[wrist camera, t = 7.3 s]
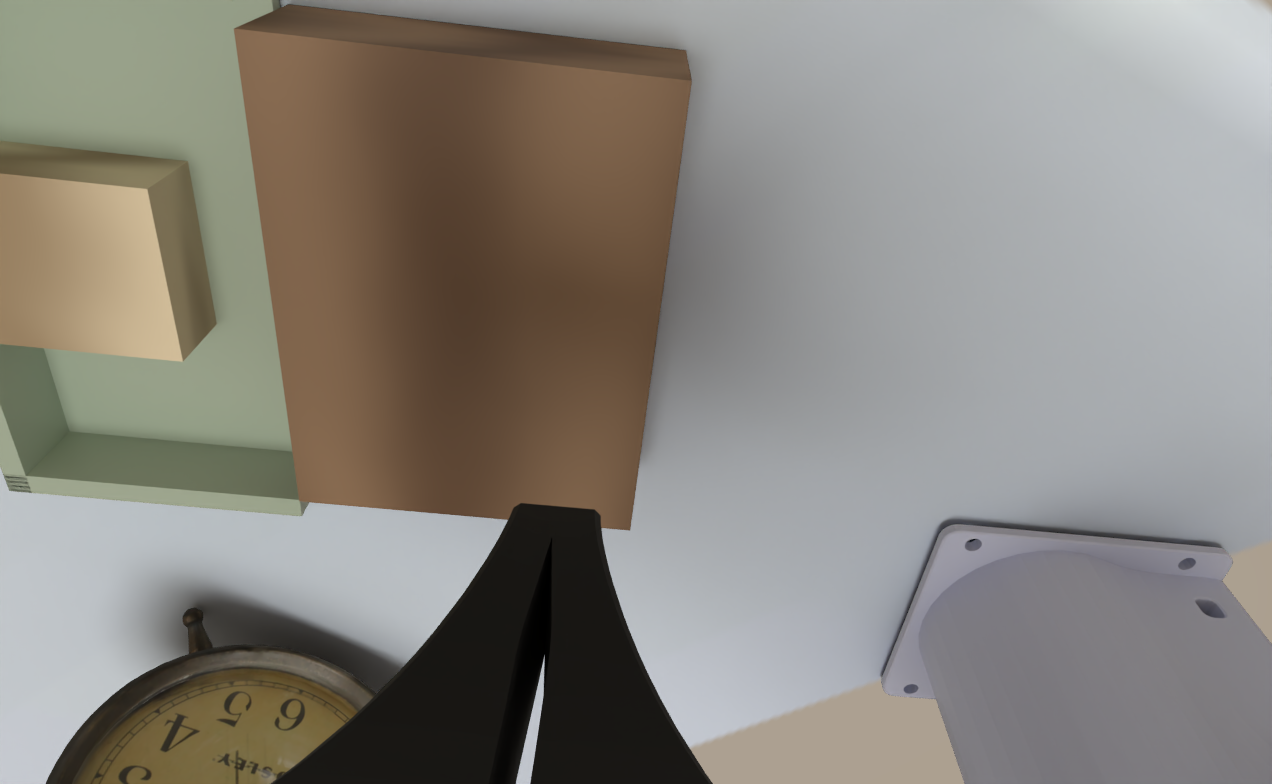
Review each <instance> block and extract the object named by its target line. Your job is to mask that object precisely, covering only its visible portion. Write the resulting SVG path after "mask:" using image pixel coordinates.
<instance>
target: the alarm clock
mask: <svg viewBox="0 0 1272 784" xmlns="http://www.w3.org/2000/svg"><path fill="white" fill-rule="evenodd" d="M202 620H203V612H202V611H201V610H199V609H197V608H191V609H188V610H187V611H186V612H185V614H184V615H183V624H184V625H185V626H186V627H188V639H189V654H188V655H185V656H182V657H179V658H177V659H174V660H172V661H169V662H166V663H164V664H162V665H160V666H158V667H156V668H154V669H152V670H150V671H148V672H146V673H145V674H143V675H141V676H139V677H138V678H136V679H134V680H132V681H131V682H129V683H128V684H126V685H125V686H124V687H123V688H121V689H120V690H119V691H117V692H116V693H115V694H114V695H112V696H111V697H110V698H109V699H108V700H107V701H106V702H104V703H103V704H102V705H101V706H100V707H99V708H98V709H97V710H96V711H95V712H94V713H93V714H92V715H91V716H90V717H89V718H88V719H87V720H86V721H85V723H84V724H83V725H82V726H81V727H80V729H79V730H78V731H77V732H76V733H75V735H74V736H73V738H72V739H71V740H70V742H69V743H68V744H67V746H66V748H65V749H64V751H63V753H62V754H61V756H60V757H59V759H58V761H57V762H56V764H55V766H54V768H53V770H52V772H51V773H50V775H49V777H48V780H47V782H46V784H270V783H272V782H273V781H275V780H276V779H277V778H279V777H280V776H282V775H283V774H284V773H286V772H287V771H288V770H290V769H291V768H292V767H294V766H295V765H296V764H297V763H299V762H300V761H301V760H303V759H304V758H305V757H306V756H307V755H308V754H310V753H311V752H312V751H313V750H314V749H316V748H317V747H318V746H319V745H320V744H322V743H323V742H324V741H325V740H326V739H328V738H329V737H330V736H331V735H332V734H333V733H335V732H336V731H337V730H338V729H339V728H341V727H342V726H343V725H344V724H345V723H347V722H348V721H349V720H350V719H351V718H352V717H353V716H354V715H355V714H356V713H358V712H359V711H360V710H361V709H362V708H363V707H364V706H365V705H366V704H367V703H368V702H369V701H370V700H371V699H372V698H373V697H374V696H375V695H376V693H375V692H374V691H373V690H372V689H370V688H369V687H368V686H367V685H366V684H364V683H363V682H362V681H361V680H359V679H358V678H356V677H355V676H354V675H352V674H350V673H349V672H347V671H345V670H344V669H342V668H340V667H338V666H337V665H334V664H332V663H330V662H327V661H325V660H323V659H320V658H318V657H315V656H313V655H309V654H306V653H303V652H300V651H296V650H291V649H287V648H281V647H275V646H265V645H232V646H224V647H217V648H213V646H212V644H211V642H210V640H209V638H208V636H207V634H206V631H205V629H204V627H203V624H202Z"/></svg>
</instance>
